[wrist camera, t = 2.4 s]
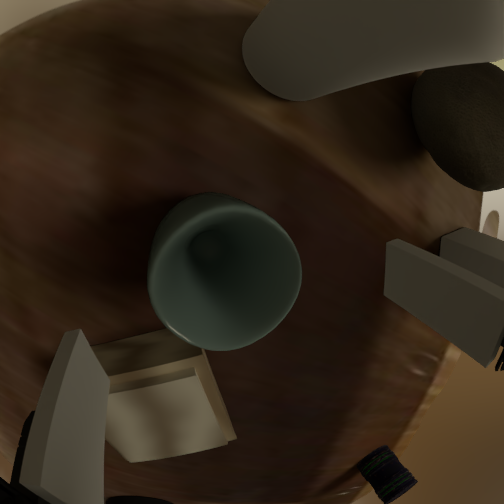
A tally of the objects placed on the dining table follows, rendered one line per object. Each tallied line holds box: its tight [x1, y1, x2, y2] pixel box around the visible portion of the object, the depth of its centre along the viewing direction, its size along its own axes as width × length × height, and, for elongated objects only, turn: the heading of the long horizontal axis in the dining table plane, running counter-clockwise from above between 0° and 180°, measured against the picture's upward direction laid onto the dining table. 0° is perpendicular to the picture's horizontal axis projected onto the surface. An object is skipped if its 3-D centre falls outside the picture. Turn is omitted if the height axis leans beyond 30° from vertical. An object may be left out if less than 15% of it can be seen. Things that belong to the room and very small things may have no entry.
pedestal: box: [90, 328, 237, 463], centre depth 23 cm, size 13×13×6 cm
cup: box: [147, 192, 302, 351], centre depth 18 cm, size 8×8×10 cm
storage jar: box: [357, 445, 418, 504], centre depth 45 cm, size 10×10×15 cm
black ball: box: [411, 62, 504, 192], centre depth 19 cm, size 14×14×15 cm
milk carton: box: [440, 227, 504, 288], centre depth 25 cm, size 7×7×19 cm
